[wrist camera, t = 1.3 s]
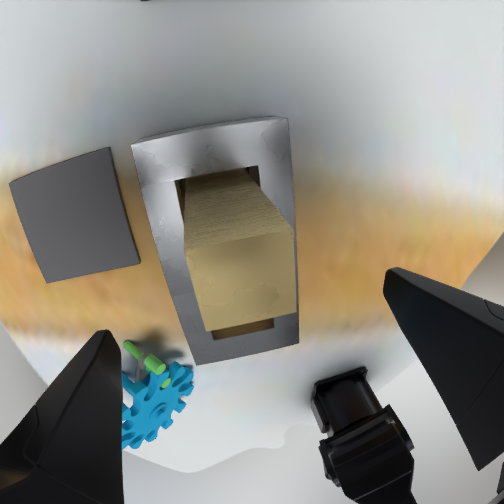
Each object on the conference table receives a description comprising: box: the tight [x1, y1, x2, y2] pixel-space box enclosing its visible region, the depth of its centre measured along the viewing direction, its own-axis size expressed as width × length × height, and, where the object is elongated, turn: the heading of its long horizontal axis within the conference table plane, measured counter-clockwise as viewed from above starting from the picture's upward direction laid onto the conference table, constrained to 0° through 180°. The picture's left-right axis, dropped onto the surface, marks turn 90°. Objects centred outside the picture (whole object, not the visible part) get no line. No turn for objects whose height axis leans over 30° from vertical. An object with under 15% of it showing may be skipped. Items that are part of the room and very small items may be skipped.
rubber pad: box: [9, 147, 141, 283], centre depth 17 cm, size 8×8×1 cm
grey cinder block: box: [131, 116, 299, 365], centre depth 19 cm, size 8×16×3 cm, turn 6°
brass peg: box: [184, 168, 297, 332], centre depth 14 cm, size 3×3×10 cm
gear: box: [122, 341, 194, 449], centre depth 23 cm, size 11×6×10 cm
